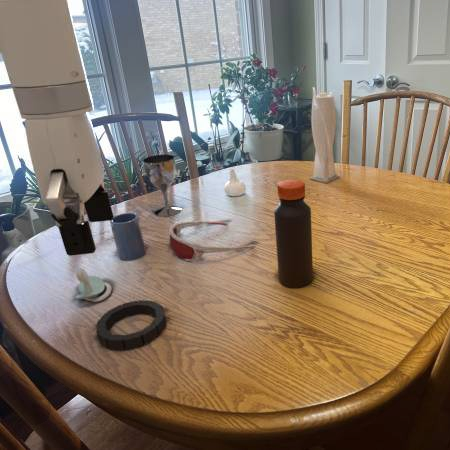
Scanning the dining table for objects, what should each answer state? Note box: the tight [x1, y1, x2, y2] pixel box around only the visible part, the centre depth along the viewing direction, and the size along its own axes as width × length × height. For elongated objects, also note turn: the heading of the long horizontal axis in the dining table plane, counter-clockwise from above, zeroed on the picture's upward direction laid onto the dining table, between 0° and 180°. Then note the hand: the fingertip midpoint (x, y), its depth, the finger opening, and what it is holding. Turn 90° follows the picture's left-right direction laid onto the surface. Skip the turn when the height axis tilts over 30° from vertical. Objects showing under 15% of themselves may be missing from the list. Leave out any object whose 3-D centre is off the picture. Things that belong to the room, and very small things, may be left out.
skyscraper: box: [309, 86, 341, 184], centre depth 135 cm, size 8×8×28 cm
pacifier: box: [74, 266, 113, 303], centre depth 83 cm, size 7×6×6 cm
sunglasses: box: [168, 220, 256, 262], centre depth 101 cm, size 17×17×5 cm
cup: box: [109, 212, 147, 262], centre depth 97 cm, size 6×6×9 cm
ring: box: [95, 299, 168, 351], centre depth 74 cm, size 11×11×2 cm
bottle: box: [273, 179, 314, 289], centre depth 82 cm, size 7×7×20 cm
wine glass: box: [142, 154, 182, 218], centre depth 117 cm, size 8×8×15 cm
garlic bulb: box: [224, 167, 247, 197], centre depth 129 cm, size 6×6×8 cm
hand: (92, 235), depth 57 cm, fingers open, 9 cm apart
